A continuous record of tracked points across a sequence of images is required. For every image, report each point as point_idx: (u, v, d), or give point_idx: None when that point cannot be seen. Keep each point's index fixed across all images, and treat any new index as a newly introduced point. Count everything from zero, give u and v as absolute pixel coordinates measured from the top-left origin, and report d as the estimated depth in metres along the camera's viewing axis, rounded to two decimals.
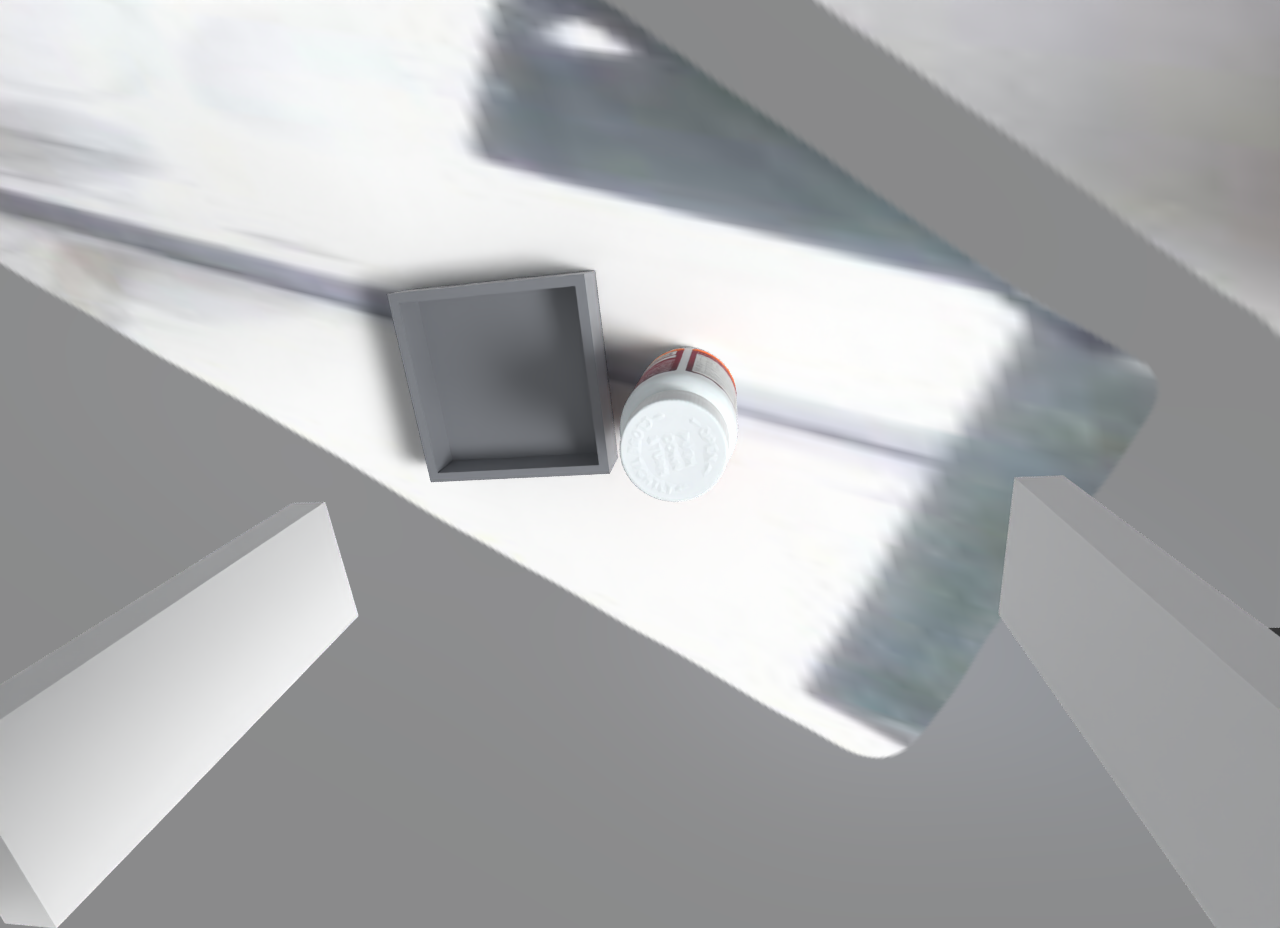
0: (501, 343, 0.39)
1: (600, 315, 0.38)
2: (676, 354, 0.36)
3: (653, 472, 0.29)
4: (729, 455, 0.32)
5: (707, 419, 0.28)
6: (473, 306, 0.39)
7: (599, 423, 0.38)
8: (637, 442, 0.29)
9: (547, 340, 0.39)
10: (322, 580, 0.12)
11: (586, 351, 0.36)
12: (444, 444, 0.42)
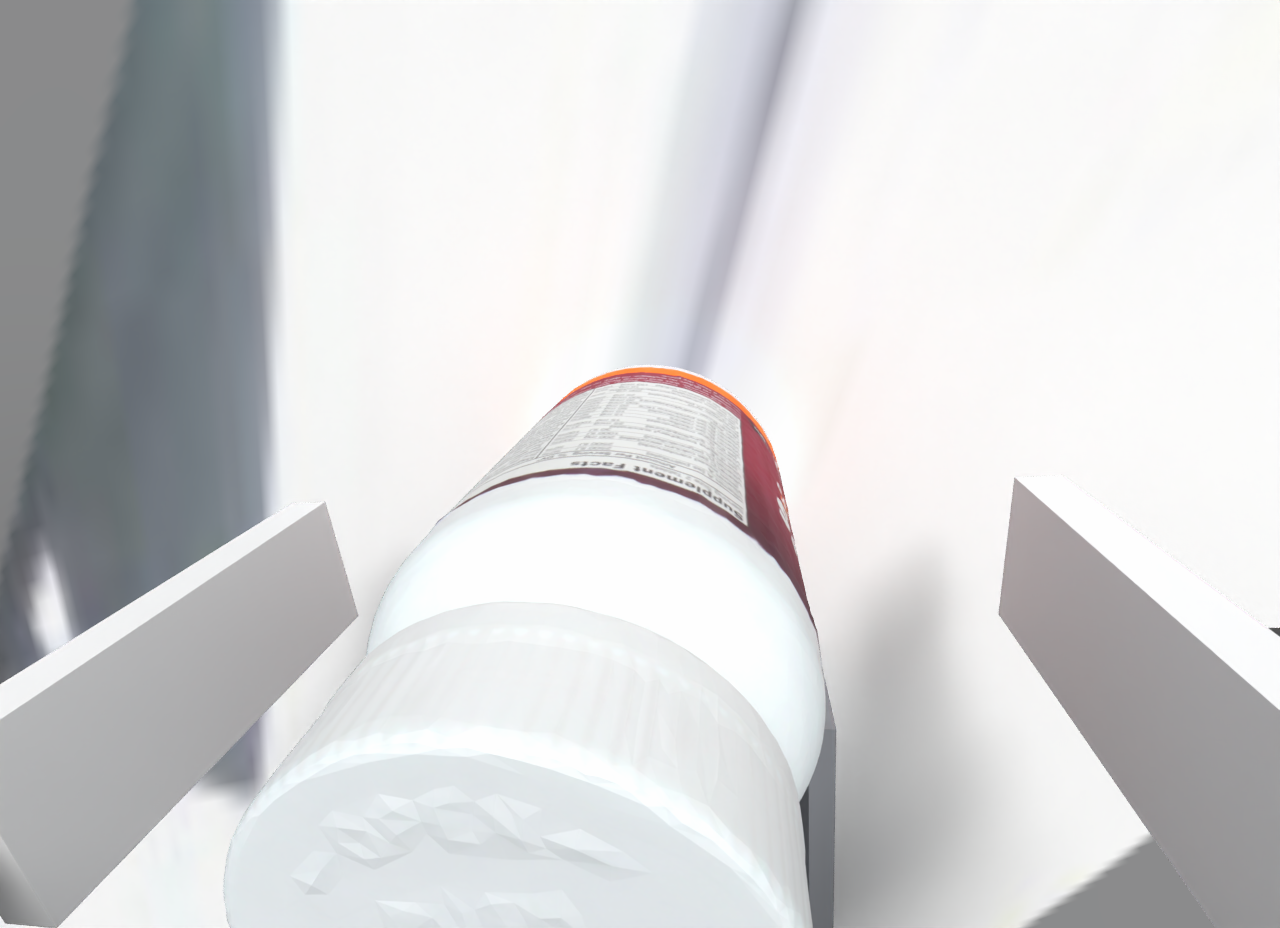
0: None
1: None
2: None
3: None
4: (670, 540, 0.07)
5: (286, 822, 0.05)
6: None
7: None
8: None
9: None
10: (322, 580, 0.12)
11: None
12: None
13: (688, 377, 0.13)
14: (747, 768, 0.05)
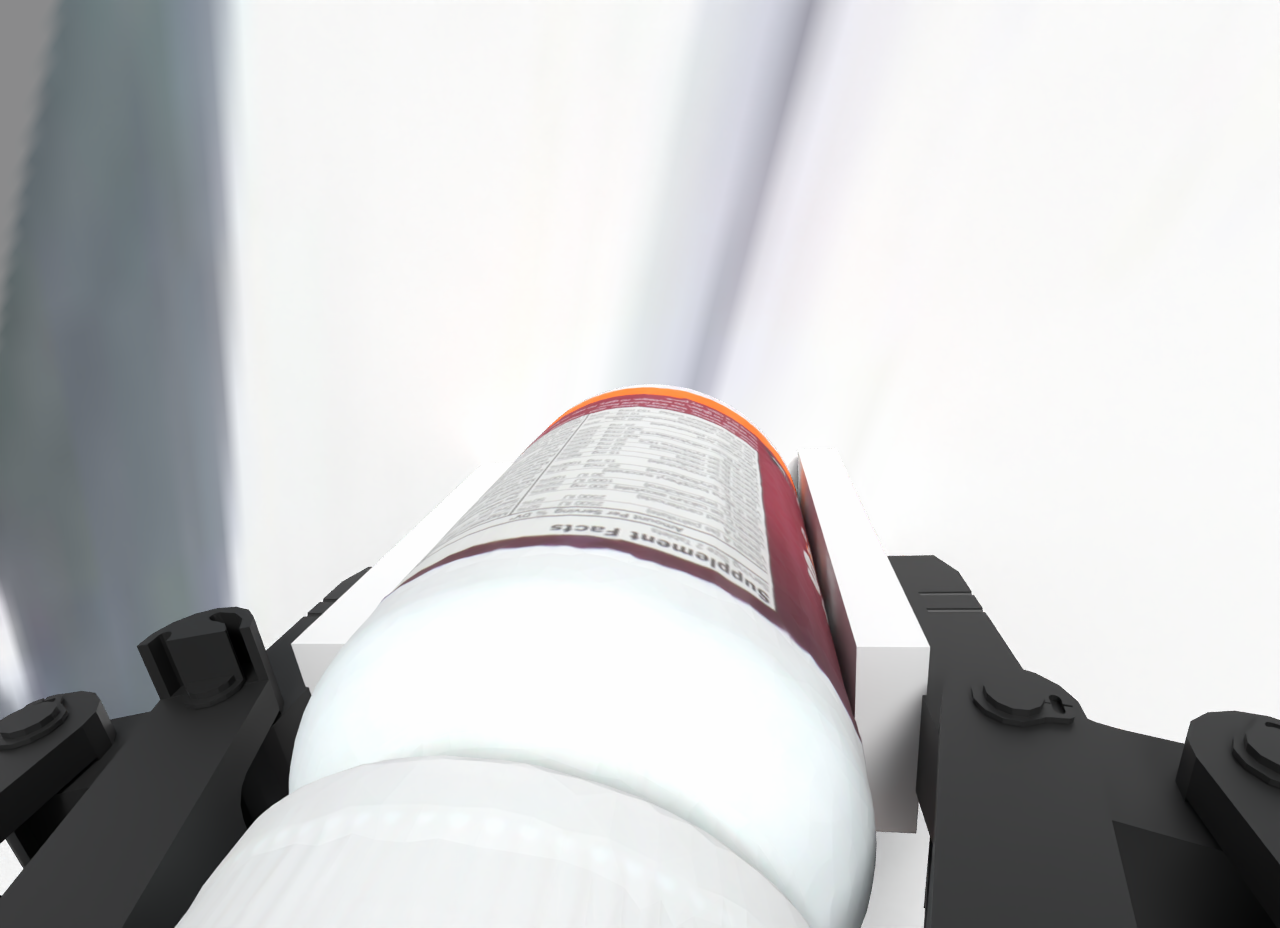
0: None
1: None
2: None
3: None
4: (676, 647, 0.05)
5: None
6: None
7: None
8: None
9: None
10: None
11: None
12: None
13: (696, 400, 0.12)
14: None
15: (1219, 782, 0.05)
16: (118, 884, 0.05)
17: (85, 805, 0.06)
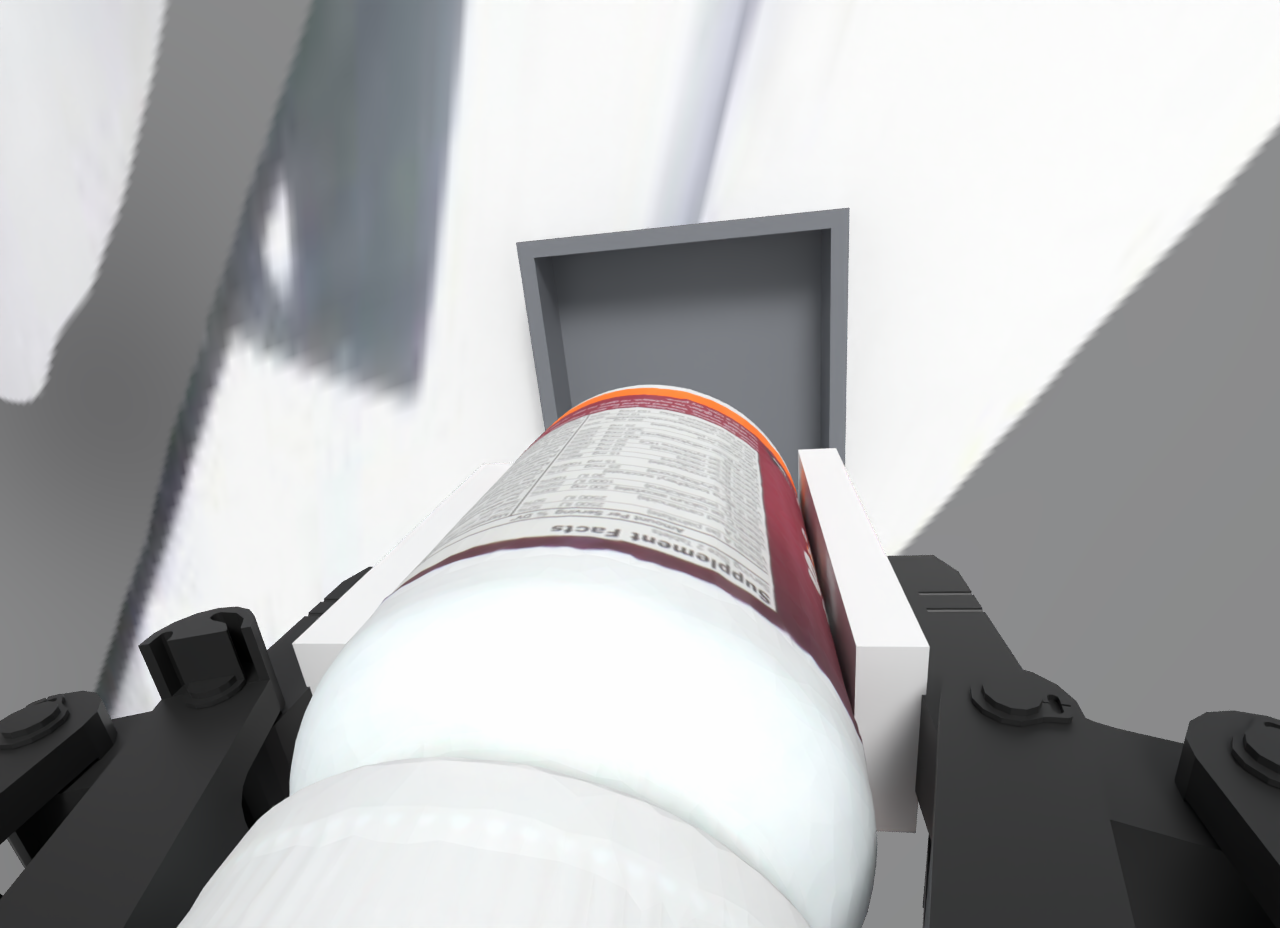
0: None
1: None
2: None
3: None
4: (677, 648, 0.05)
5: None
6: None
7: (752, 224, 0.22)
8: None
9: (635, 318, 0.26)
10: None
11: (630, 243, 0.23)
12: None
13: (697, 400, 0.12)
14: None
15: (1218, 782, 0.05)
16: (119, 884, 0.05)
17: (86, 805, 0.06)
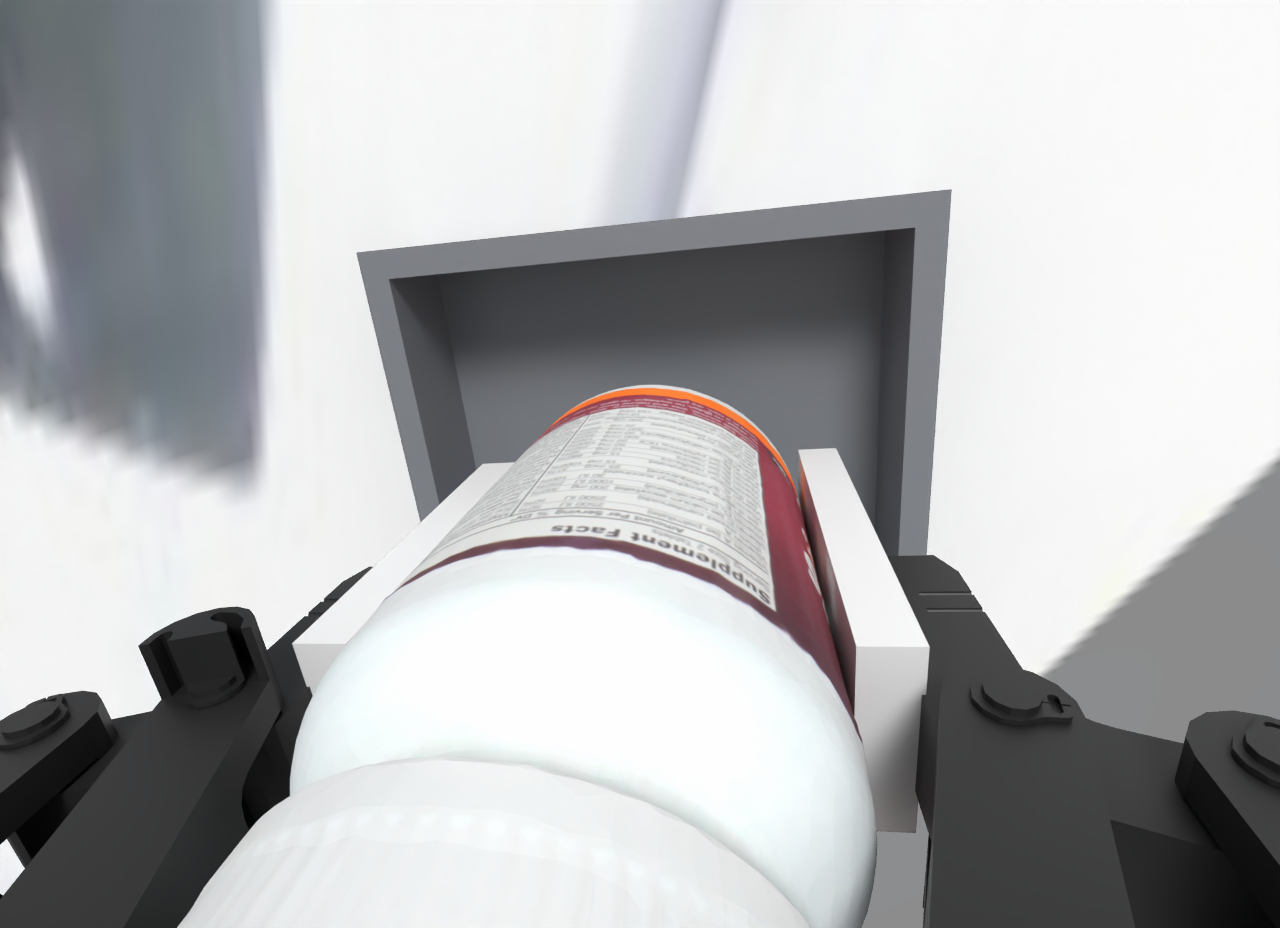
0: None
1: None
2: None
3: None
4: (677, 648, 0.05)
5: None
6: None
7: (770, 221, 0.12)
8: None
9: (575, 373, 0.16)
10: None
11: (553, 255, 0.13)
12: None
13: (697, 400, 0.12)
14: None
15: (1218, 782, 0.05)
16: (118, 884, 0.05)
17: (86, 805, 0.06)
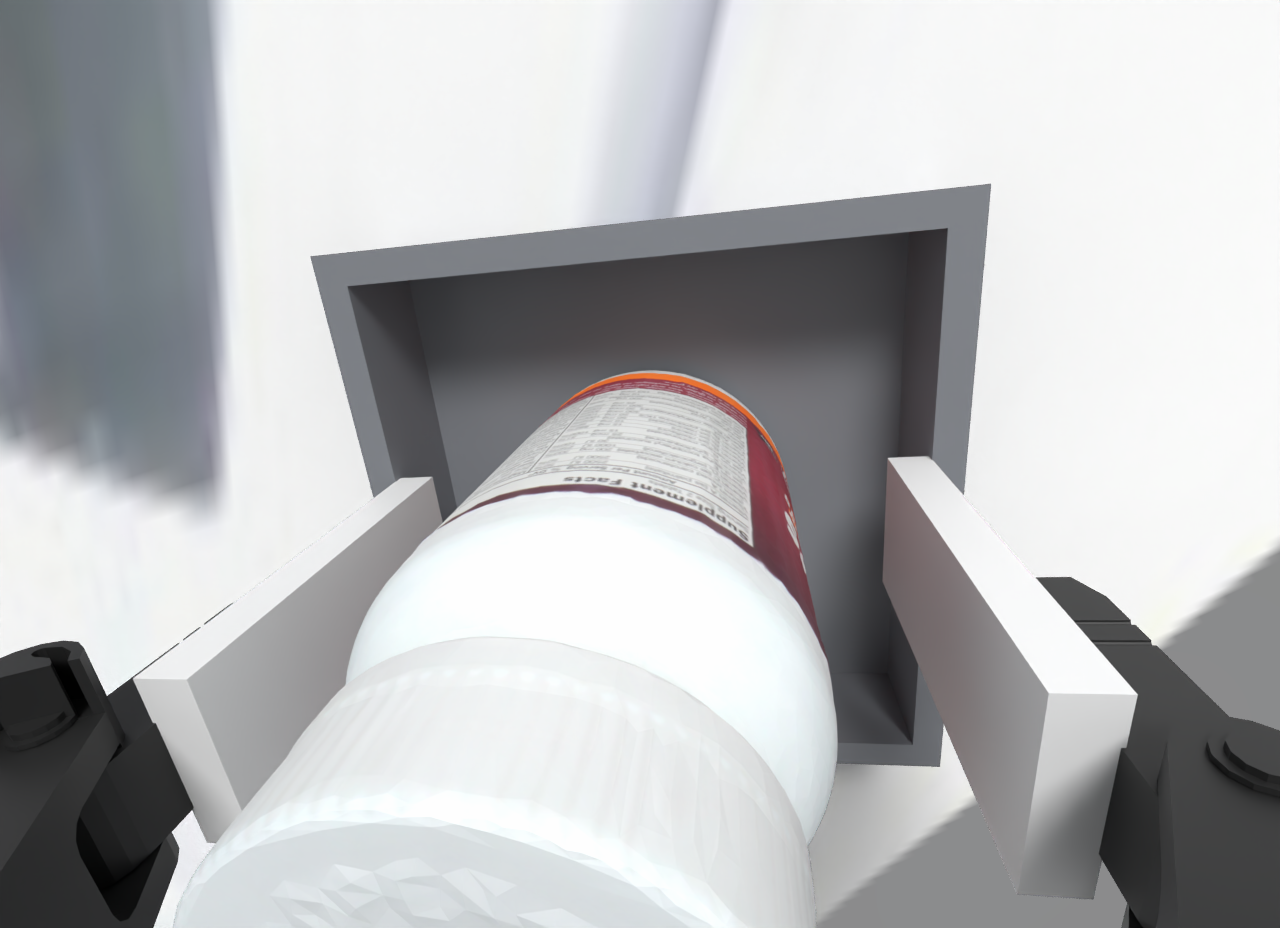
0: None
1: None
2: None
3: None
4: (668, 566, 0.06)
5: (234, 892, 0.04)
6: None
7: (779, 221, 0.10)
8: None
9: (562, 390, 0.15)
10: None
11: (531, 259, 0.11)
12: (836, 689, 0.16)
13: (692, 383, 0.13)
14: (752, 830, 0.05)
15: None
16: None
17: None
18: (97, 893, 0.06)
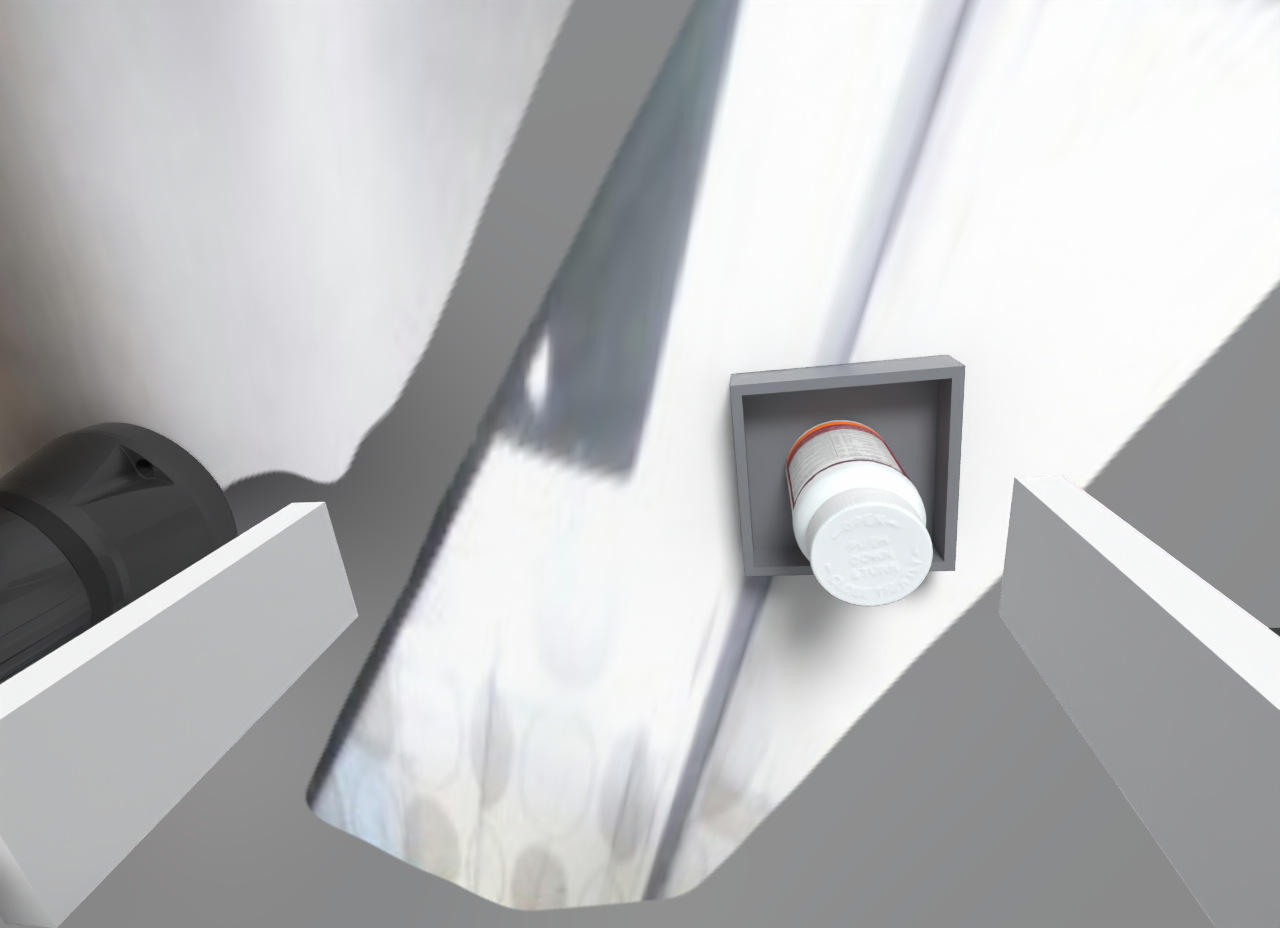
0: None
1: (777, 370, 0.36)
2: None
3: (893, 576, 0.27)
4: (889, 475, 0.29)
5: (834, 523, 0.27)
6: (762, 497, 0.39)
7: (897, 375, 0.33)
8: (857, 590, 0.28)
9: (800, 427, 0.37)
10: (322, 580, 0.12)
11: (811, 387, 0.34)
12: None
13: (859, 425, 0.35)
14: (917, 515, 0.27)
15: None
16: None
17: None
18: None
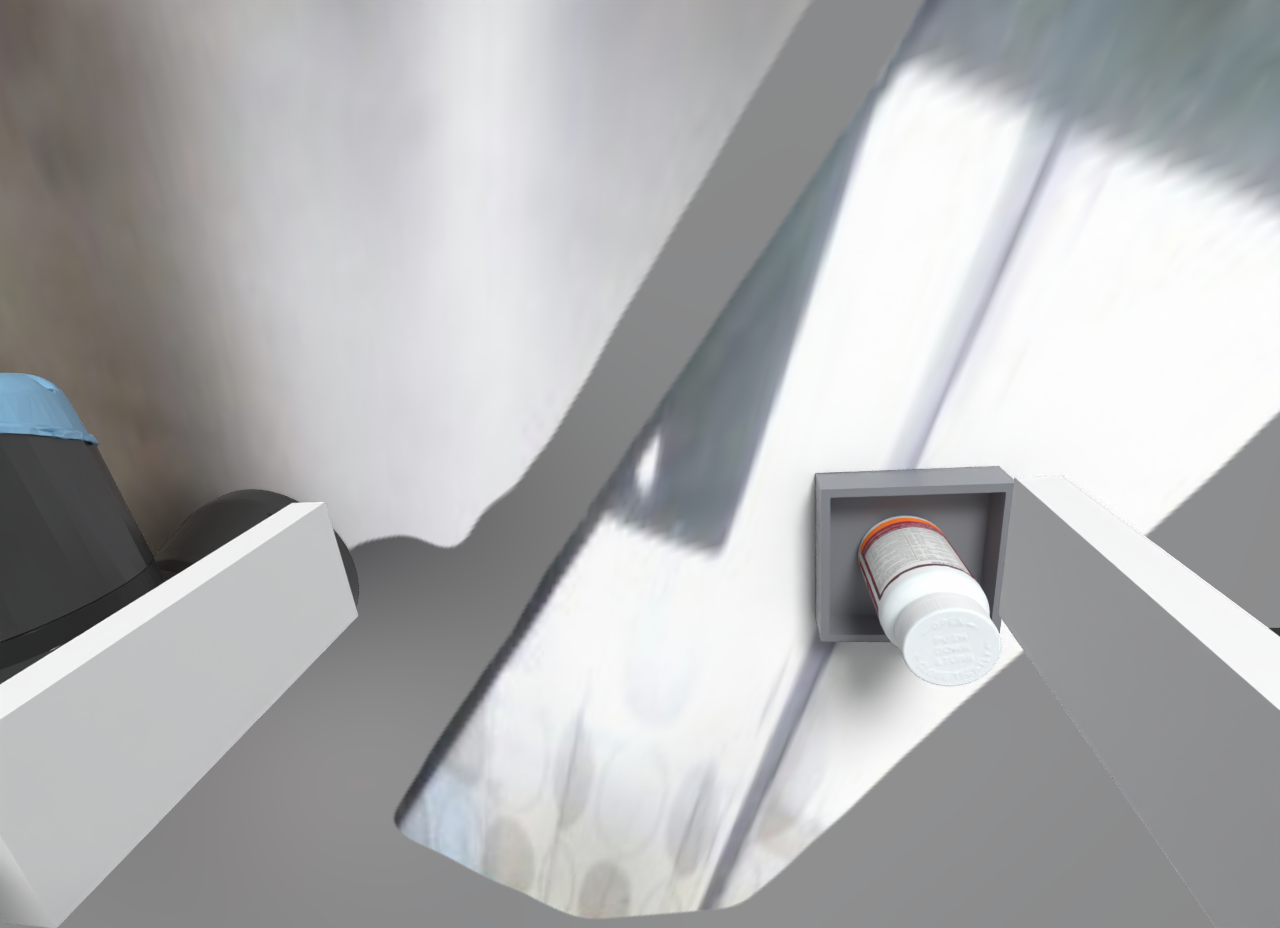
0: None
1: None
2: (863, 574, 0.43)
3: (969, 664, 0.34)
4: (963, 580, 0.36)
5: (924, 623, 0.34)
6: (835, 574, 0.46)
7: (961, 488, 0.40)
8: (938, 673, 0.35)
9: (872, 519, 0.44)
10: (322, 580, 0.12)
11: (889, 493, 0.41)
12: None
13: (924, 522, 0.42)
14: (989, 616, 0.34)
15: None
16: None
17: None
18: None
